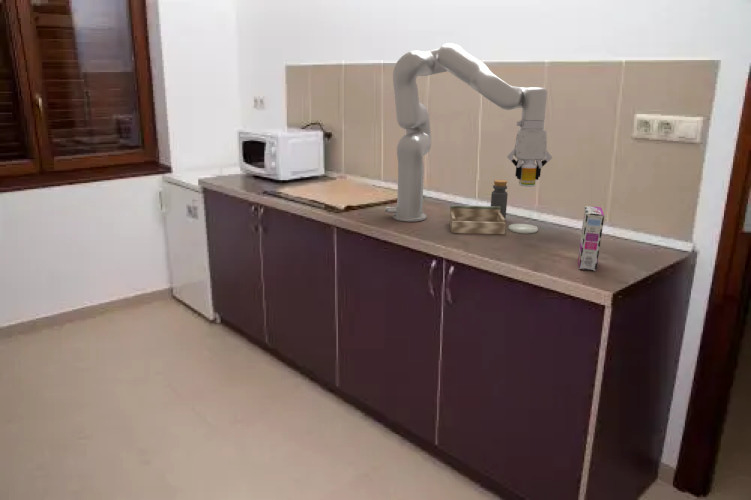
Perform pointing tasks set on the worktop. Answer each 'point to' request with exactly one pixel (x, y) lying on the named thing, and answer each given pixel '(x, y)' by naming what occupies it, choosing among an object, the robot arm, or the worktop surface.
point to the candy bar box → (590, 238)
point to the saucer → (523, 228)
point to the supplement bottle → (528, 173)
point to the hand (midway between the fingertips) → (527, 178)
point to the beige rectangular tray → (476, 220)
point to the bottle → (500, 196)
